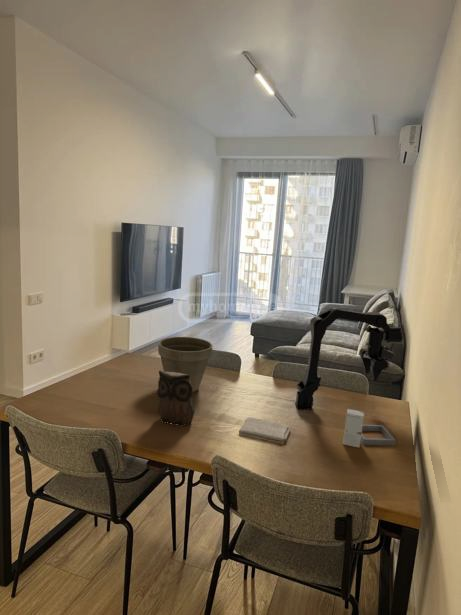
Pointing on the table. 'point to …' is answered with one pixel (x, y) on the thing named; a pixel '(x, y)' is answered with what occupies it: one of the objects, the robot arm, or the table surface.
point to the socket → (376, 441)
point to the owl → (175, 398)
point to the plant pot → (185, 357)
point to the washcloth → (265, 430)
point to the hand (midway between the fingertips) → (371, 377)
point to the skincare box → (353, 428)
